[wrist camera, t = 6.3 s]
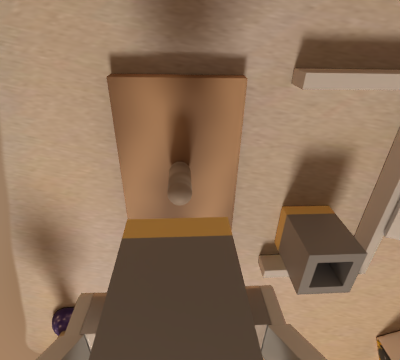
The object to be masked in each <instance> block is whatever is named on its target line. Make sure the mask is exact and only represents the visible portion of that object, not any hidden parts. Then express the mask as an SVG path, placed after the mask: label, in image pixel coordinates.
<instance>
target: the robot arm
mask: <svg viewBox="0 0 400 360" xmlns="http://www.w3.org/2000/svg"><path fill="white" fill-rule="evenodd" d="M245 288H246V292H247V296H248V300H249V304H250V308H251V313H252V317H253V321H254V325H255V329H256V333H257V337H258V341H259V345H260V349H261V353H262V356H263V358H264V359H265V360H327V359H326V358H325V357H324V356H323V355H322V354H321V353H320V352H319V351H318V350H317V349H316V348H314V347H313V346H312V345H311V344H310V343H309V342H308V341H307V340H306V339H305V338H304V337H303V336H302V335H301V334H300V333H299V332H298V331H297V330H296V329H295V328H294V327H292V326H291V325H290V324H286V322H285V319H284V316H283V314H282V311H281V308H280V305H279V303H278V300H277V297H276V294H275V292H274V289H273V287H272V286H271V285H265V286H245ZM106 295H107V293H81V295H80V296H79V297H78V300H77V302H76V305H75V308H74V310H73V313H72V316H71V318H70V321H69V323H68V326H67V329H66V331H65V334H64V336H59V337H58V338H57V339H56V340H55V341H54V342H53V343H52V344H51V345H50V346H49V347H48V348H47V349H46V350H45V351H44V352H43V353H42V354H41V355H40V356H39V357H38V358H37V359H36V360H89V356H90V353H91V349H92V346H93V342H94V338H95V335H96V331H97V327H98V324H99V320H100V317H101V313H102V309H103V306H104V302H105V299H106Z"/></svg>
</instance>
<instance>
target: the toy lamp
mask: <svg viewBox="0 0 400 360" xmlns="http://www.w3.org/2000/svg"><path fill="white" fill-rule="evenodd" d="M73 310H74V308H63V309H60V310H58V311H57V312H56V313H55V314H54V316H53V319H52V328H53V330H54V332H55V333H56V334H57V335H58V337H59V336H64V334H65V331H66V329H67V326H68V323H69V321H70V318H71V316H72V313H73Z"/></svg>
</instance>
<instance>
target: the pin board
mask: <svg viewBox="0 0 400 360" xmlns="http://www.w3.org/2000/svg"><path fill="white" fill-rule="evenodd" d="M107 82H108V89H109V96H110V102H111V109H112V116H113V123H114V129H115V136H116V143H117V149H118V156H119V163H120V170H121V176H122V183H123V190H124V196H125V203H126V210H127V217H128V219H163V218H204V217H228V220H229V224H230V228H231V229H232V219H233V210H234V200H235V191H236V181H237V172H238V162H239V153H240V143H241V134H242V124H243V115H244V105H245V96H246V86H247V78H246V77H245V76H244V75H171V74H110V75H109V76H107Z"/></svg>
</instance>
